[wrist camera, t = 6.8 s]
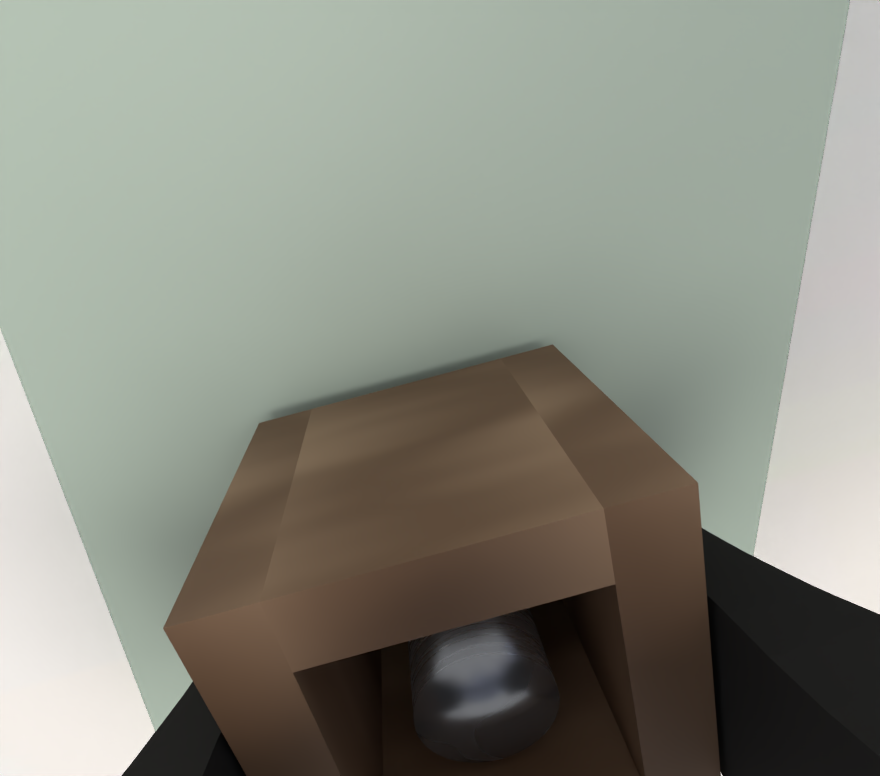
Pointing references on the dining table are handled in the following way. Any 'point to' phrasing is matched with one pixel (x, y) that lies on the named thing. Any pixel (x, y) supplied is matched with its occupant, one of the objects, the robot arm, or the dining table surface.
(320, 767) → the walnut collar
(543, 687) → the grey steel post
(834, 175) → the dining table surface
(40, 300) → the sage board
